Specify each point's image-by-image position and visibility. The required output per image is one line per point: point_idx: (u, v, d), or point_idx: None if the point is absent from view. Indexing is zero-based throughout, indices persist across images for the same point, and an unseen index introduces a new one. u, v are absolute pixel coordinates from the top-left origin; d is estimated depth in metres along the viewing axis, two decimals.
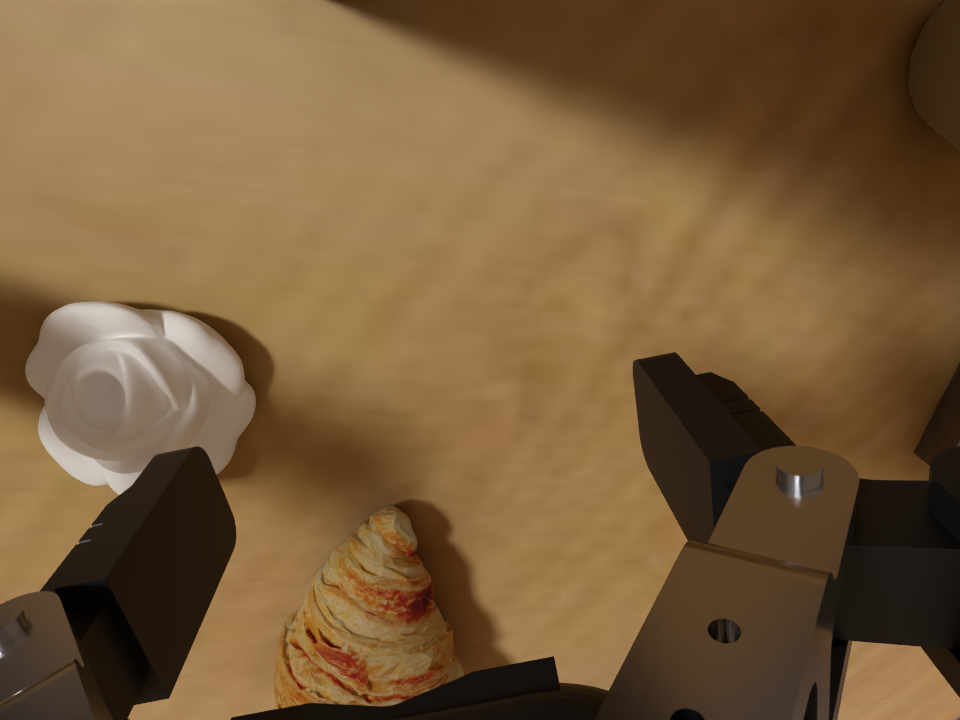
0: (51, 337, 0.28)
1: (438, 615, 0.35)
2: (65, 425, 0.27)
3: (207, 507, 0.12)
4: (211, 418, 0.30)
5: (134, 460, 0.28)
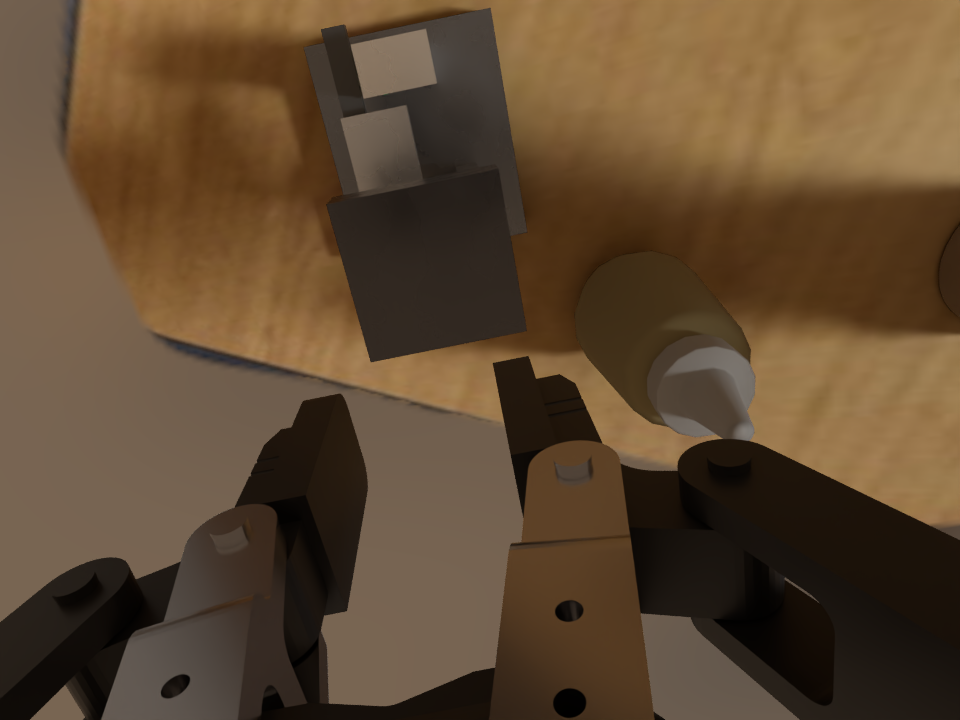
0: None
1: None
2: None
3: (350, 450, 0.13)
4: None
5: None
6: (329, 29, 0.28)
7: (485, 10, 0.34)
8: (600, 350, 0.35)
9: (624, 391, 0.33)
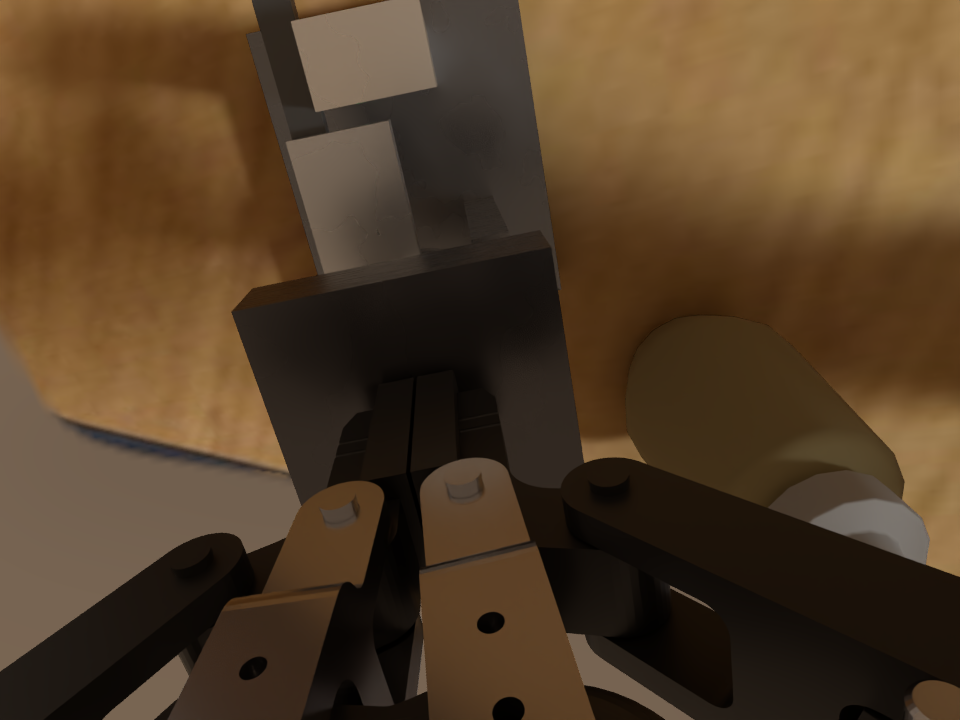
0: None
1: None
2: None
3: None
4: None
5: None
6: (265, 0, 0.18)
7: None
8: (671, 466, 0.25)
9: None
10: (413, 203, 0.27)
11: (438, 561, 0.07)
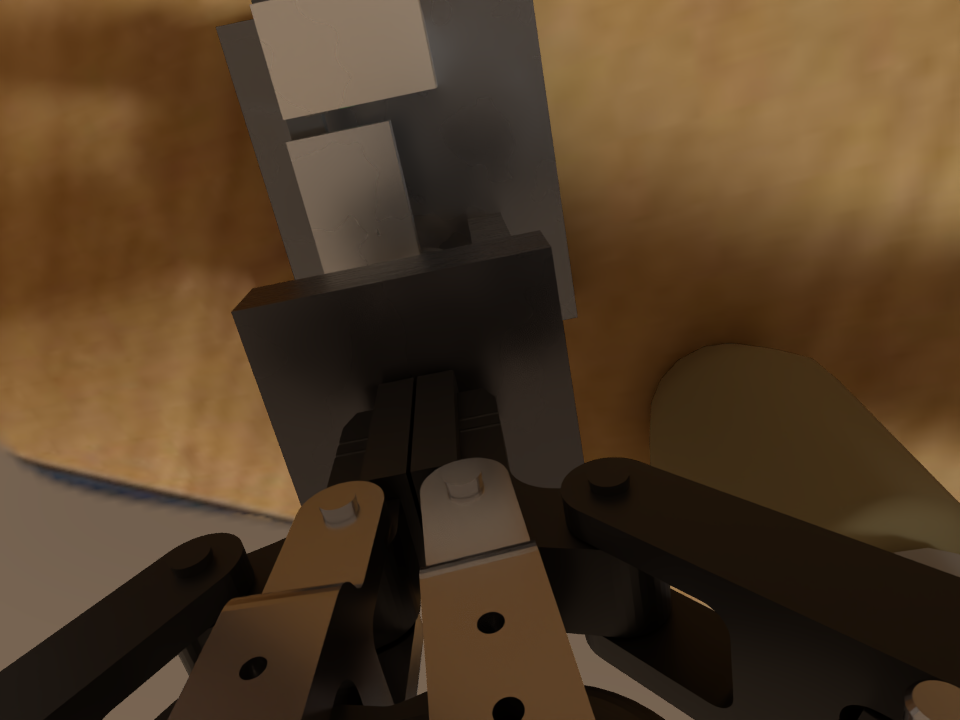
0: None
1: None
2: None
3: None
4: None
5: None
6: (265, 0, 0.18)
7: None
8: None
9: None
10: None
11: (438, 561, 0.07)
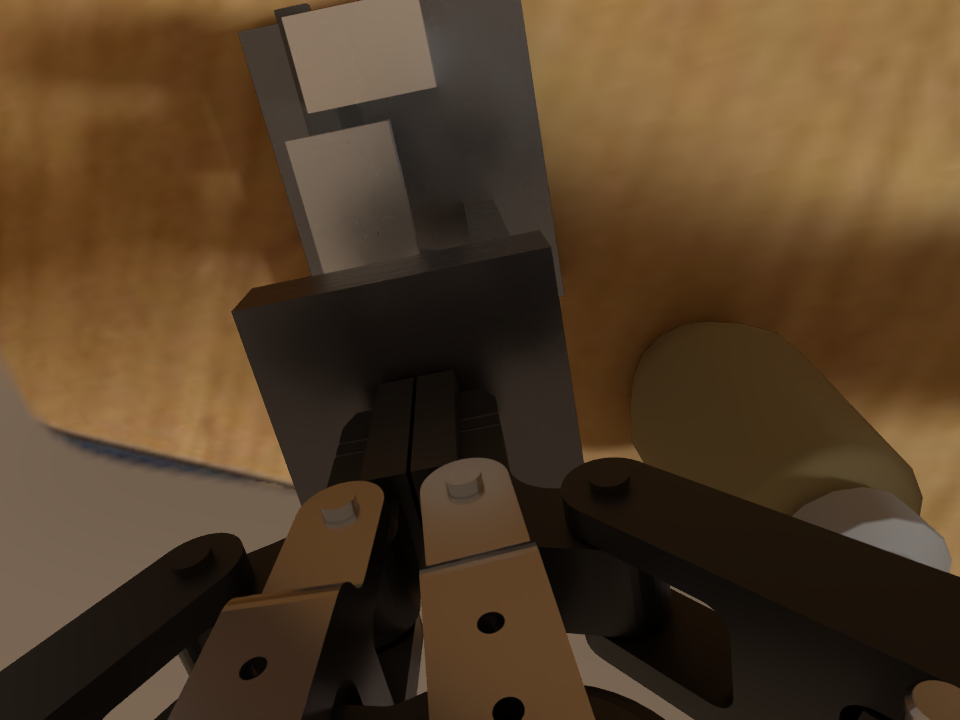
0: None
1: None
2: None
3: None
4: None
5: None
6: (286, 10, 0.20)
7: None
8: None
9: None
10: (411, 207, 0.26)
11: (438, 561, 0.07)
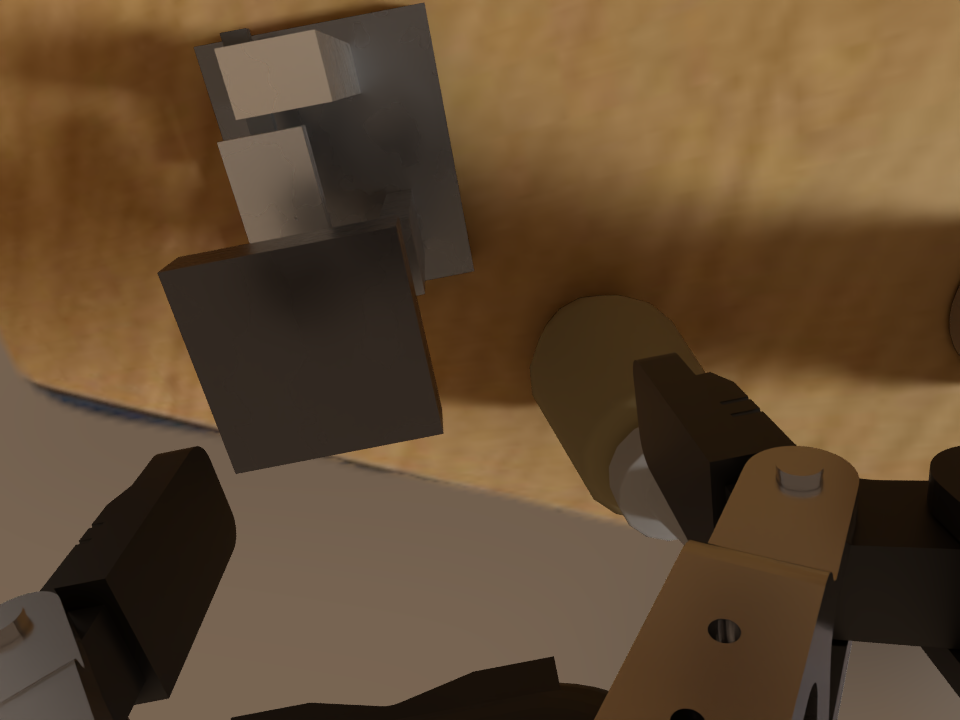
0: None
1: None
2: None
3: (207, 507, 0.12)
4: None
5: None
6: (229, 33, 0.25)
7: (418, 5, 0.28)
8: (556, 419, 0.29)
9: (582, 478, 0.27)
10: (342, 195, 0.31)
11: (723, 541, 0.07)
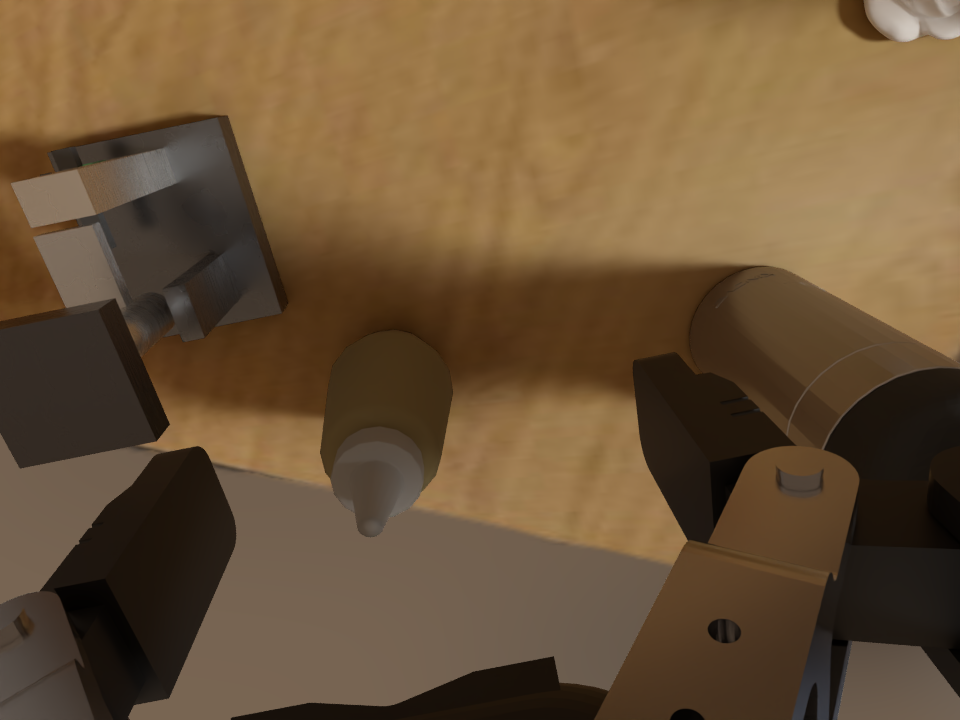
0: None
1: None
2: None
3: (206, 508, 0.12)
4: None
5: None
6: (58, 151, 0.35)
7: (213, 119, 0.38)
8: None
9: (326, 473, 0.36)
10: (171, 257, 0.40)
11: (723, 542, 0.07)
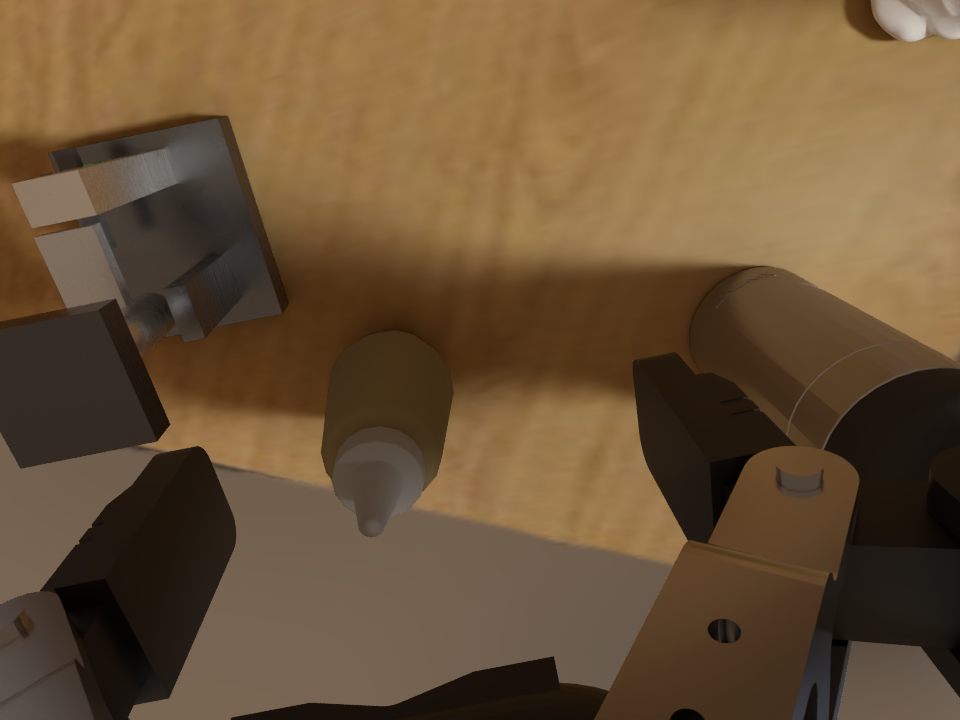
0: None
1: None
2: None
3: (206, 507, 0.12)
4: None
5: None
6: (58, 151, 0.35)
7: (213, 120, 0.38)
8: None
9: (327, 473, 0.36)
10: (172, 258, 0.40)
11: (723, 541, 0.07)
